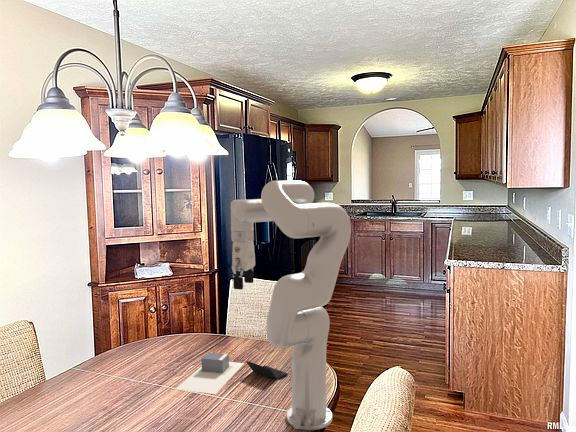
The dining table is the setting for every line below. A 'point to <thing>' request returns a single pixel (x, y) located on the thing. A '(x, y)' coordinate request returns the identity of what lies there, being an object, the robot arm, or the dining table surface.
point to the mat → (209, 380)
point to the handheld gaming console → (267, 371)
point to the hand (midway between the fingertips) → (243, 285)
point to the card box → (215, 362)
